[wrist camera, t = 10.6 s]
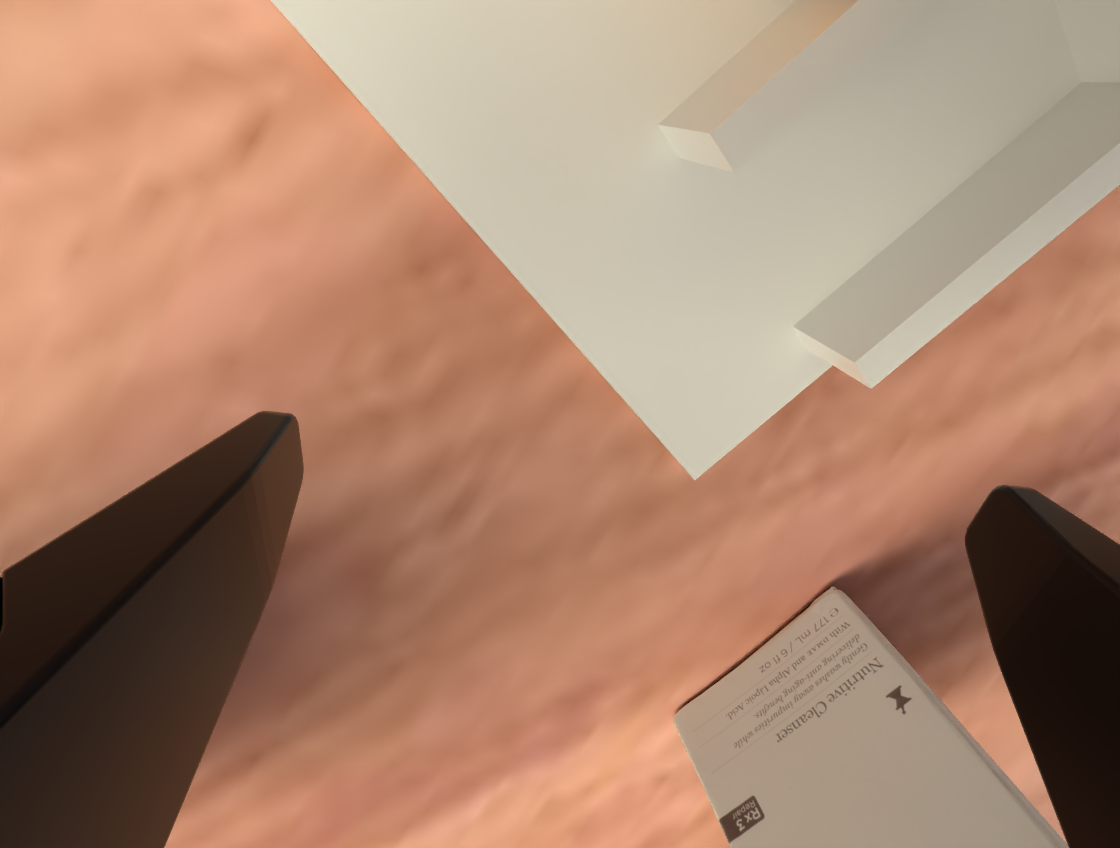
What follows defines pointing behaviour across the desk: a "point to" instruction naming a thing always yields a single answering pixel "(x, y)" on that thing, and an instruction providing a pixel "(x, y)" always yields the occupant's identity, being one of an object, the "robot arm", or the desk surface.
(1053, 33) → the white ribbed tray
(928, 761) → the skincare box
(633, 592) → the desk surface
